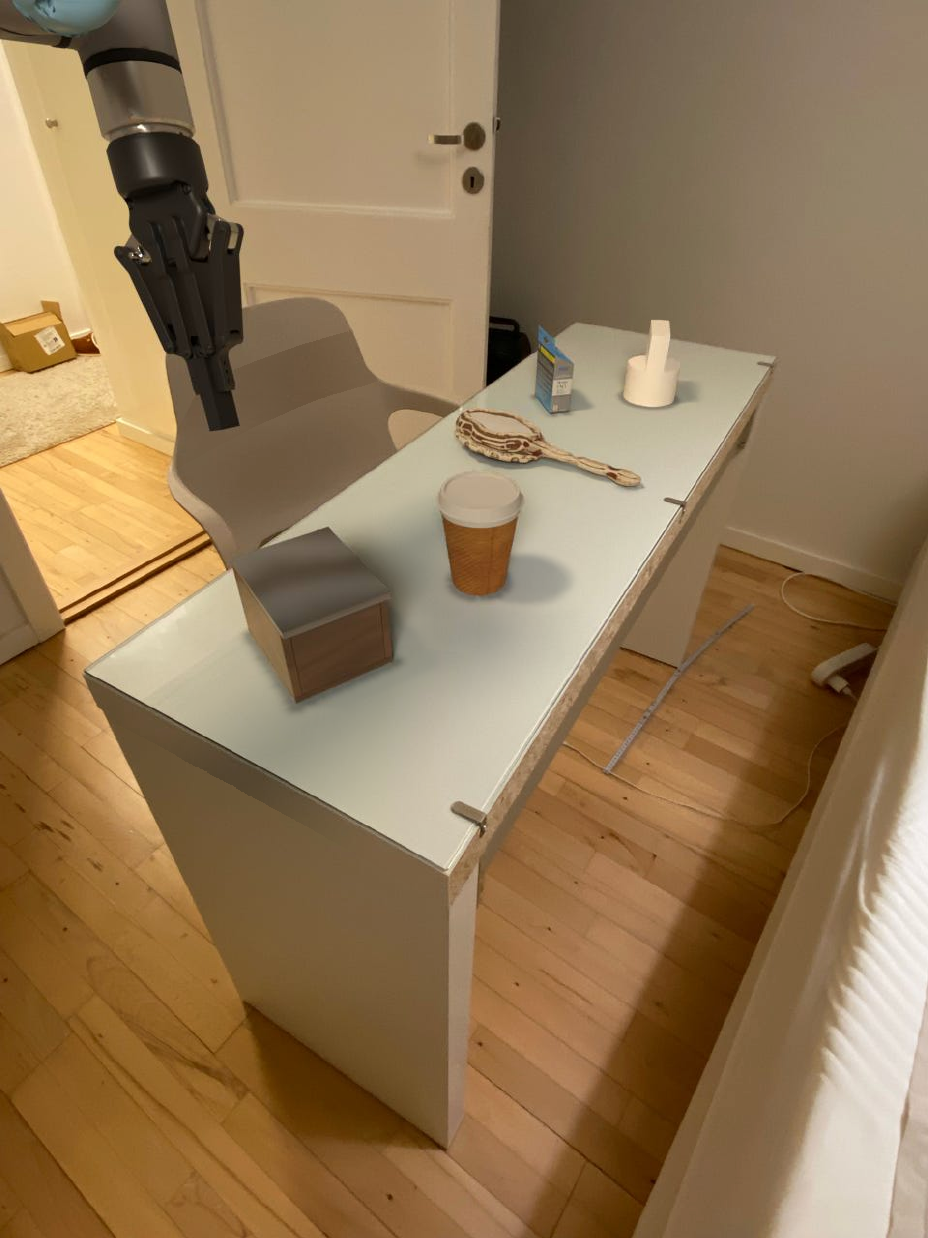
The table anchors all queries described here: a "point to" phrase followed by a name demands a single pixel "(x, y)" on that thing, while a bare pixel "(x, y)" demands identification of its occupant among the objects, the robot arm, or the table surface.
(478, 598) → the table surface
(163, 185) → the robot arm
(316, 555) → the lid
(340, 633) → the box
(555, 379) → the ink cartridge box
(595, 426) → the table surface
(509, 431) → the hand mirror
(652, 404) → the cylinder with rectangular tab
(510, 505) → the disposable coffee cup
